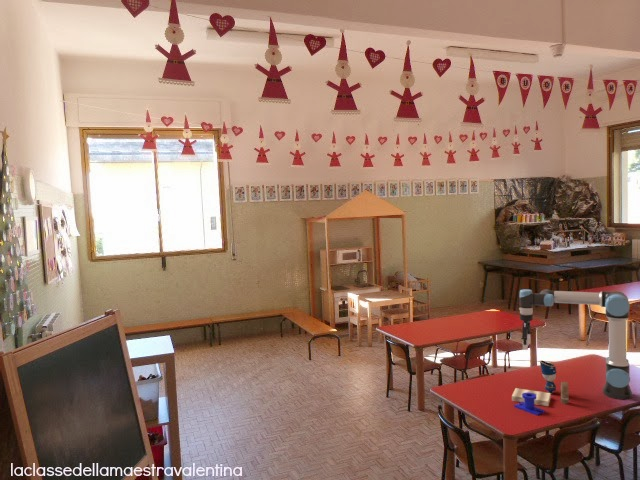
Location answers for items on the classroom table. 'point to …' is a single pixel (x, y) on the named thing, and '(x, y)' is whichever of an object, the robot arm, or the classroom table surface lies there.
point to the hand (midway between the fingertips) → (526, 346)
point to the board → (541, 399)
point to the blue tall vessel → (549, 375)
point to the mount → (529, 404)
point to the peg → (564, 393)
